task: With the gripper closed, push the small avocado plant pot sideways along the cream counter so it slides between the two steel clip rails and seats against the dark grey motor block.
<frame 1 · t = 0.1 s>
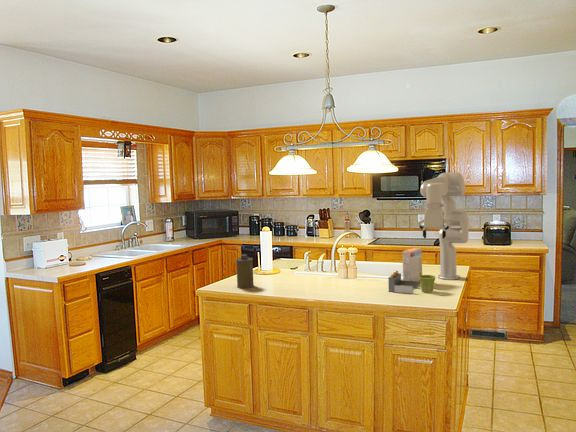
hand: (434, 238, 254), 31 cm above the countertop, tool pointing down, fingers open, 9 cm apart
canister: (245, 286, 293), on the countertop
cracker box: (412, 284, 284), on the countertop
plant pot: (427, 292, 263), on the countertop
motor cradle: (402, 289, 270), on the countertop
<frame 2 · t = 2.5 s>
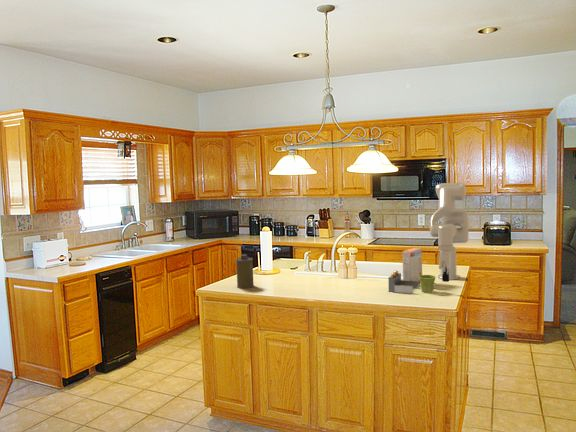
hand: (445, 281, 258), 7 cm above the countertop, tool pointing down, fingers closed
nothing on the countertop moved.
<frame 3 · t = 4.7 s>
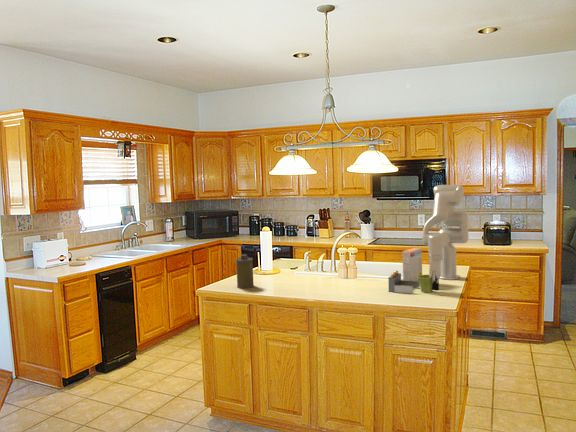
hand: (435, 289, 261), 1 cm above the countertop, tool pointing down, fingers closed
nothing on the countertop moved.
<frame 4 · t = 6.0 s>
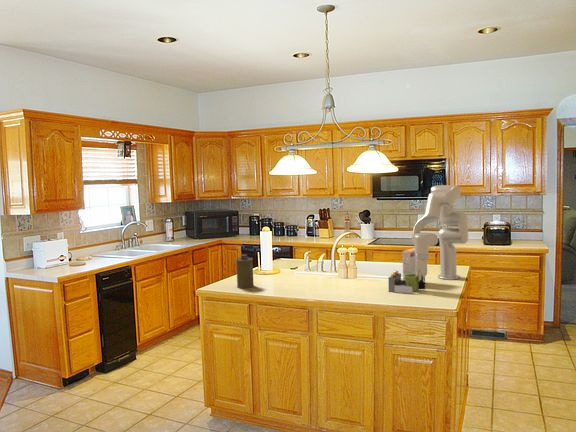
hand: (422, 288, 264), 1 cm above the countertop, tool pointing down, fingers closed
plant pot: (413, 290, 267), on the countertop, touching gripper
everything else where it was.
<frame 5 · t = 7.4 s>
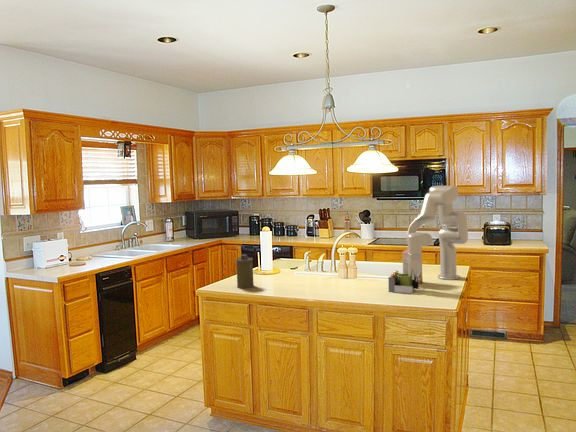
hand: (415, 288, 266), 1 cm above the countertop, tool pointing down, fingers closed
plant pot: (406, 290, 269), on the countertop, touching gripper
everything else where it was.
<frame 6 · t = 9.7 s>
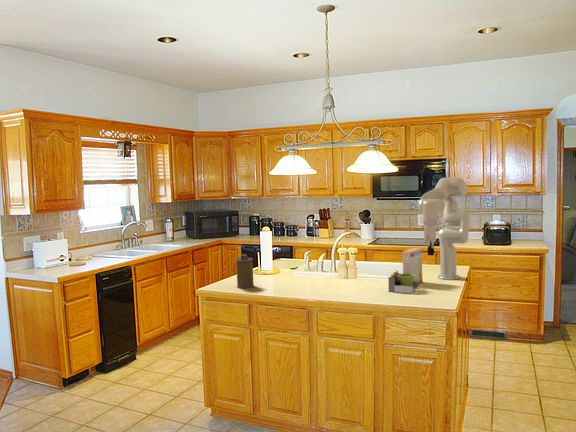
hand: (430, 254, 264), 20 cm above the countertop, tool pointing down, fingers closed
plant pot: (406, 290, 269), on the countertop
everything else where it was.
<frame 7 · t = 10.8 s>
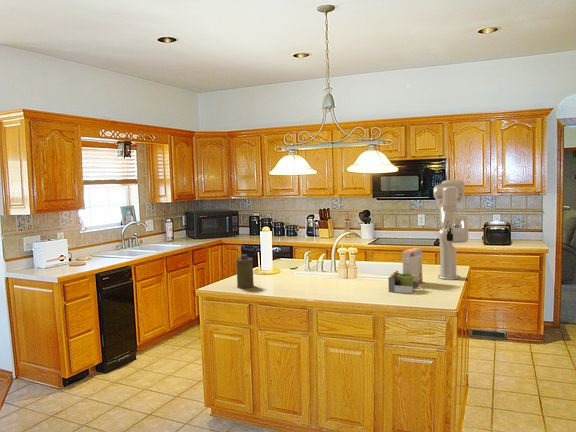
hand: (449, 240, 270), 27 cm above the countertop, tool pointing down, fingers closed
nothing on the countertop moved.
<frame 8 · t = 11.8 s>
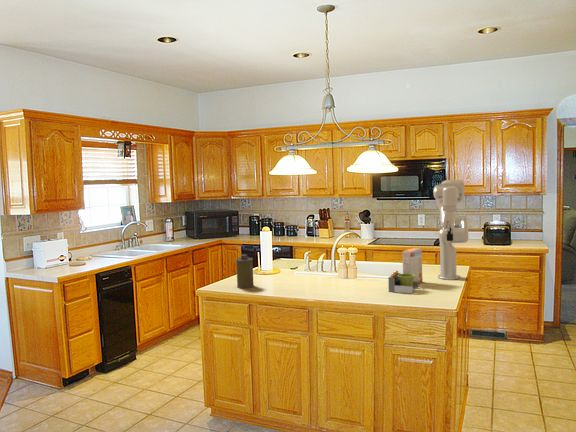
hand: (449, 240, 270), 27 cm above the countertop, tool pointing down, fingers closed
nothing on the countertop moved.
at the end: plant pot 0.1 cm from the target spot on the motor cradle, point 0.0 cm above the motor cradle's base; plant pot tilted 0° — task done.
